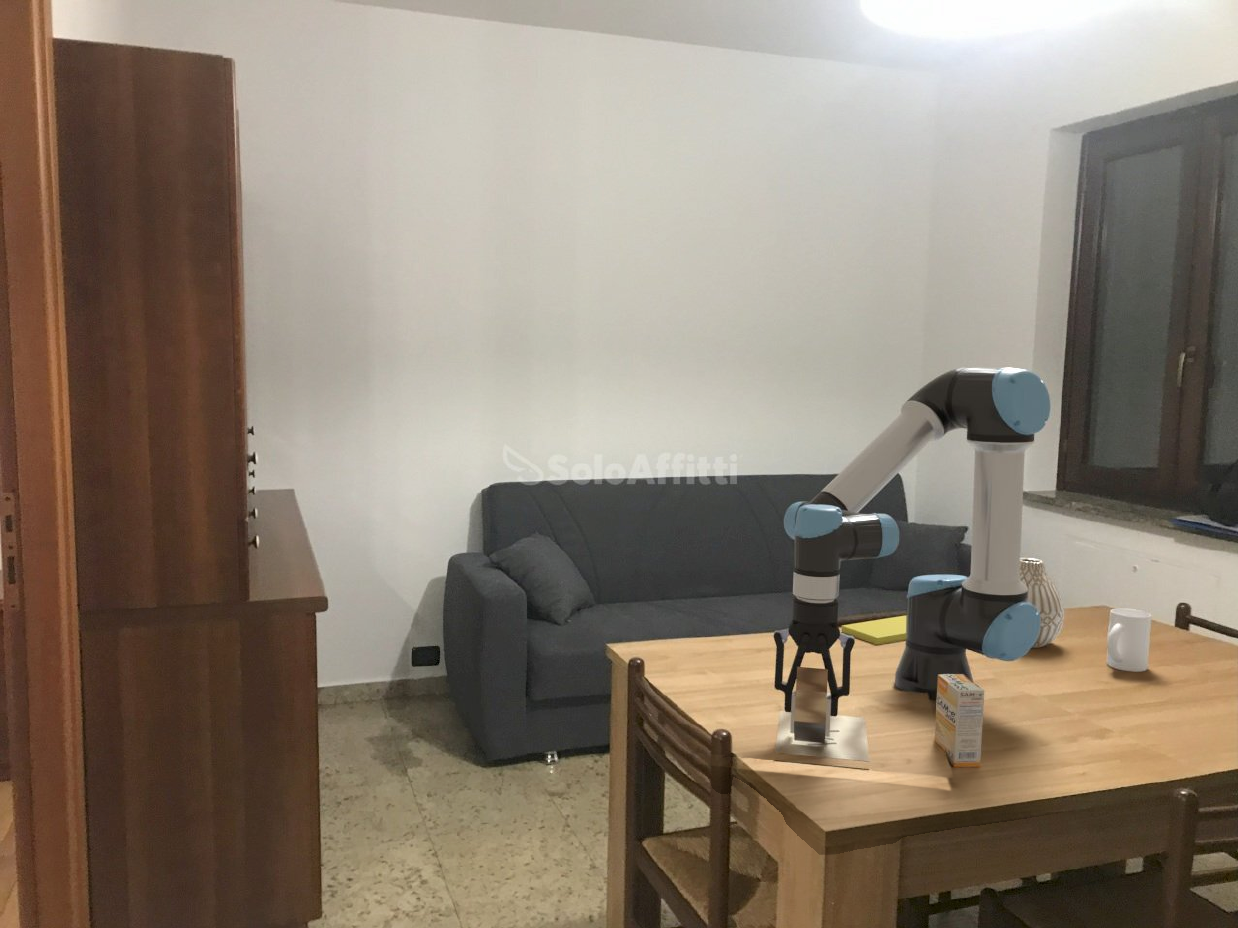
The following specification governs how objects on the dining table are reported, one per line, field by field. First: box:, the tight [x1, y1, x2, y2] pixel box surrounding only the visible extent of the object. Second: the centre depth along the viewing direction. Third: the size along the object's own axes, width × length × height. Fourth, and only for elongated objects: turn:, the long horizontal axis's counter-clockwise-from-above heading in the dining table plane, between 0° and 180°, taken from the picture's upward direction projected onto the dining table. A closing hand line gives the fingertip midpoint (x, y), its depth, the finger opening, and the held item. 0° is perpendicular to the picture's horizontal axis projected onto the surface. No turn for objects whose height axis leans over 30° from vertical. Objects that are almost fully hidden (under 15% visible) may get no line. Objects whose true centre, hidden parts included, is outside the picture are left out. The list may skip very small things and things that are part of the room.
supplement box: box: [934, 674, 985, 768], centre depth 162 cm, size 8×5×13 cm, turn 5°
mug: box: [1106, 607, 1152, 673], centre depth 213 cm, size 8×12×12 cm
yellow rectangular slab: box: [840, 614, 907, 646], centre depth 239 cm, size 12×2×24 cm
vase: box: [1019, 557, 1065, 649], centre depth 231 cm, size 16×16×20 cm
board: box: [774, 710, 870, 771], centre depth 168 cm, size 15×20×2 cm
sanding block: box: [794, 666, 828, 743], centre depth 163 cm, size 5×8×10 cm
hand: (810, 731), depth 166 cm, fingers closed on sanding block, 5 cm apart
